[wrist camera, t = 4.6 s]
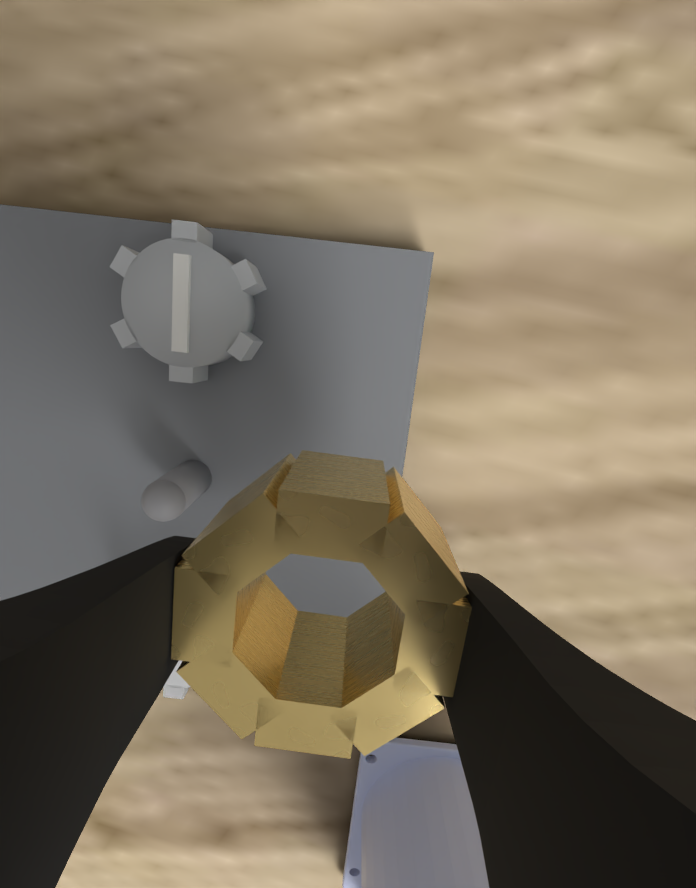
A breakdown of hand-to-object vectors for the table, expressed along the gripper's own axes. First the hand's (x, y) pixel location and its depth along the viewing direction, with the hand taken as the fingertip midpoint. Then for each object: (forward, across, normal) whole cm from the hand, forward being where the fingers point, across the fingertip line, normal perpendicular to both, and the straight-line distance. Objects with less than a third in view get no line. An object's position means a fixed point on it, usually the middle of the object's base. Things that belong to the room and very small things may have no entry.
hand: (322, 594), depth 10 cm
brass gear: (+2, 0, 0) cm, 2 cm away
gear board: (+8, +6, 0) cm, 10 cm away
